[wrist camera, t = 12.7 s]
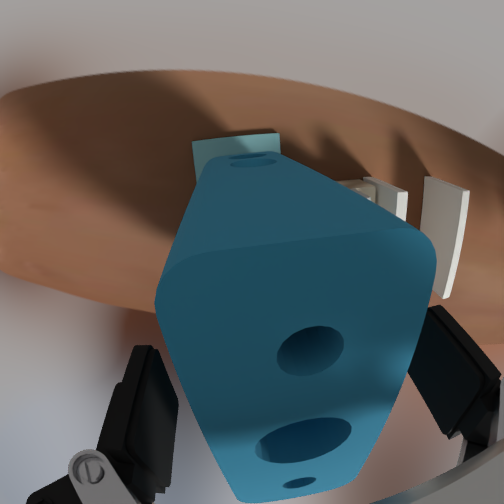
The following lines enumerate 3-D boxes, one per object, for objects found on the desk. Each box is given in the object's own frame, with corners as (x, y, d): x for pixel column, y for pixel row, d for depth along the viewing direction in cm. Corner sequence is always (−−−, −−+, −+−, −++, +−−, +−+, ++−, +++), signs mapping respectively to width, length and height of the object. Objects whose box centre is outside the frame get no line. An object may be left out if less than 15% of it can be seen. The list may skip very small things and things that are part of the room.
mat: (277, 133, 23) (279, 133, 22) (285, 273, 28) (286, 276, 28) (192, 141, 22) (191, 141, 22) (212, 281, 28) (211, 284, 27)
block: (206, 150, 22) (139, 260, 4) (268, 143, 22) (444, 222, 4) (224, 282, 27) (240, 504, 9) (278, 275, 27) (351, 483, 9)
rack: (431, 176, 25) (469, 190, 20) (419, 270, 30) (449, 297, 24) (289, 181, 24) (308, 197, 19) (292, 291, 29) (307, 328, 24)
